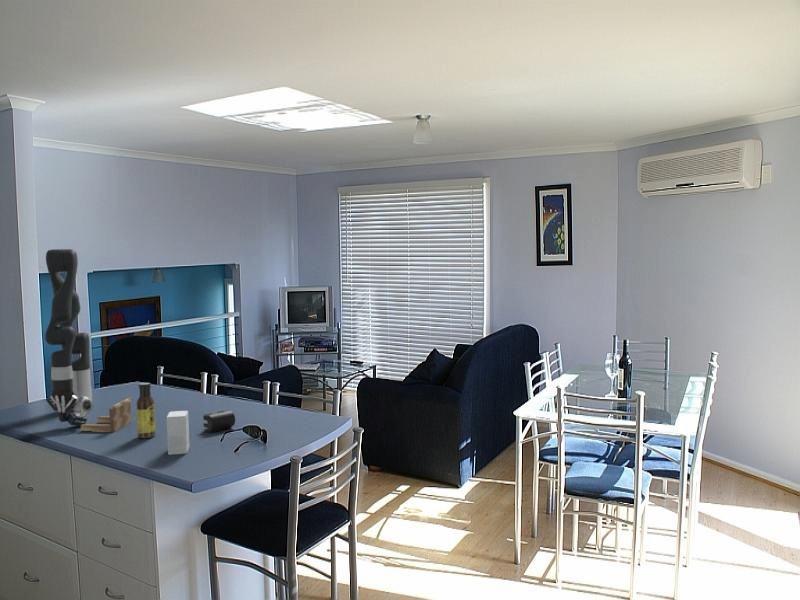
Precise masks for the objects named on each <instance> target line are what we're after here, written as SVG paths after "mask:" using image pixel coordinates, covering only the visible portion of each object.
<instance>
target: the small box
mask: <svg viewBox="0 0 800 600" xmlns="http://www.w3.org/2000/svg"><path fill="white" fill-rule="evenodd" d="M189 423H190V422H189V411H188V410H175V411H174V410H173V411H169V412H168V414H167V416H166V435H167V436H166V438H167V455H169V456H171V455H172V456H173V455H182V454H183V455H184V454H188V452H189V449H190V433H189V432H190V431H189V430H190V429H189V427H190V426H189V425H190V424H189Z"/></svg>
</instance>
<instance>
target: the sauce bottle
mask: <svg viewBox="0 0 800 600" xmlns="http://www.w3.org/2000/svg"><path fill="white" fill-rule="evenodd" d="M151 386H152V384H151V383H150V382H141V383H139V384H138V389H139V397H138V399H137V401H136V430H137V437H138V438H139V439H148V438H149V439H150V438H153V437H155V436H156V411H155V400H154V399H153V398H152V395H151Z"/></svg>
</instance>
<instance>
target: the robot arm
mask: <svg viewBox="0 0 800 600" xmlns="http://www.w3.org/2000/svg"><path fill="white" fill-rule="evenodd" d="M78 259H79V258H78V253H77V251H76V250H75V249H71V248H68V249H67V248H62V249H61V248H60V249H59V248H58V249H57V248H56V249H49V250H47V251H46V253H45V263H46V267H47V270H48V275H49V279H50V282H51V287H52V291H53V298H52V301H51V314H50V320H49V323H48V326H47V328H46V331H45V334H44V339H45V342H46V343H47V345H50V346H59V345H60V346H61V349H60V350H59V349H58V350H55V351H53V352H52V353H51V355H50V356H51V357H50V361H51V370H50V371H51V372H50V373H51V374H50V377H51V378H50V379H51V390H52V392H51V395H50V396H49V397H47V398H46V399H45V401H46V402H47V403H48V405H49V406H50V407H51V409H52V410H53V411H54V412H55V411H56V412H58V417H59V418H58V419H59V421H60V423H65V422H67V421H66V420H67V417H68V415H69V411H74V407H75V405H76V404H77V402H78V401H79V400H80V398H79V397H80V396H84V397H88V398H89V399H90V400H91V401H92V402H93V392H92V389H93V388H92V384H91V383H92V382H91V365H90V362H91V359H90V347H91V346H90V345H91V343H90V336H89V334H88V333H87V332H76V330H75V328H74V327H72V324H73V323H74V322H75V320H76V319H77V317H79V314H80V312H81V302H80V297H79V295H78V293H77V292H76V290H75V283H76V277H77V273H78V272H77V271H78V264H79V263H78V262H79V261H78ZM61 273H66V276H65V279H64V278H63V276H62V274H61ZM72 355H80V356H79V358H78V359H75V360H73V361H72ZM80 411H81V409H80Z"/></svg>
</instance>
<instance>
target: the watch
mask: <svg viewBox="0 0 800 600" xmlns="http://www.w3.org/2000/svg"><path fill="white" fill-rule="evenodd" d="M79 398H80V400H79V401H78V402H77V404H76V405H75V407H74V410H73V413H72V412H71V413H70V412H68V417H67V420H66V422H67V423H68V424H69V425H71V426H78V427H81V425H82V424H87V423H86V422H87V421H88V418H87V415H88V414H89V413H90V412H91V411H92V409H93V408H94V405H93V400H92V401H91V400H90V399H89V398H88V397H84V396H80V397H79ZM80 409H81V410H80Z"/></svg>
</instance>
